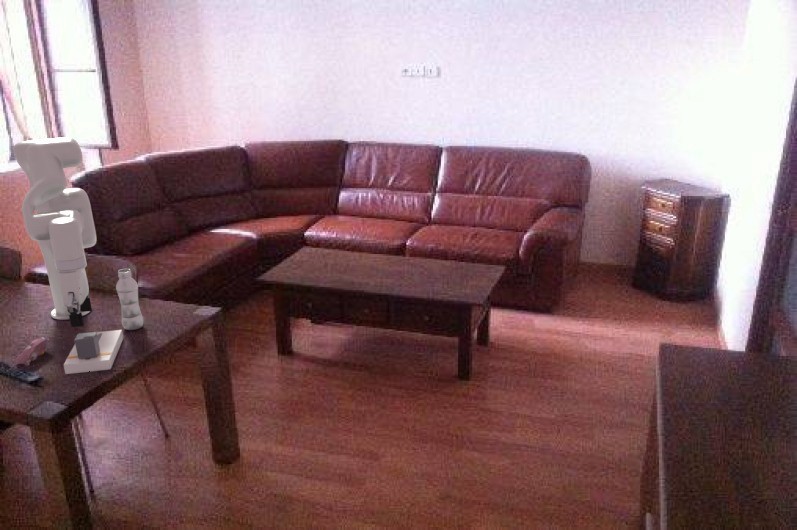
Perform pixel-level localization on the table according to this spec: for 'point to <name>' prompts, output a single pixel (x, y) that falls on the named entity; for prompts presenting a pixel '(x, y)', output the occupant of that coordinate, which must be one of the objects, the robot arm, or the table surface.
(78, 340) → the fader tab
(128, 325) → the plastic bottle
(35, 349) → the pink toy car
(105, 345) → the fader console
